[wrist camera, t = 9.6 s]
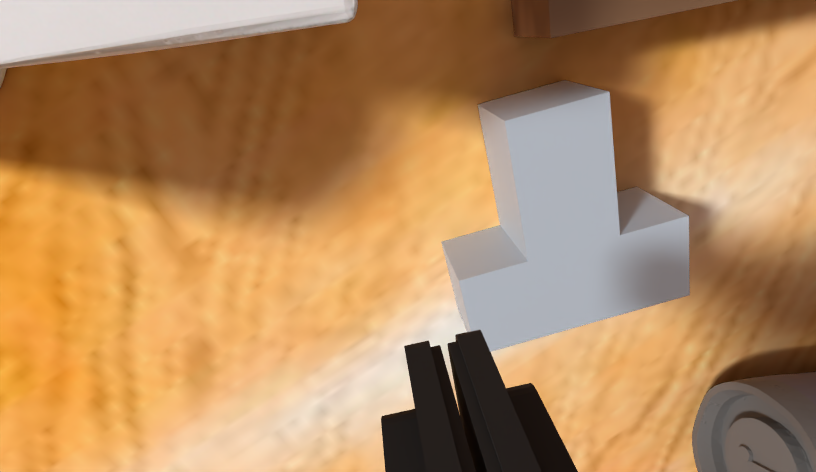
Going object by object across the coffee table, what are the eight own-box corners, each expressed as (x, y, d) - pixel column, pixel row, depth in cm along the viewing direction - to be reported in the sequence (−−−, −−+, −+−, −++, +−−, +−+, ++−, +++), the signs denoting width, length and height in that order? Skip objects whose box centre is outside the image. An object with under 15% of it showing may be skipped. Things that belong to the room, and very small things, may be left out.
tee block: (640, 256, 26) (689, 295, 22) (458, 308, 26) (476, 355, 22) (630, 61, 22) (687, 69, 18) (411, 122, 22) (425, 143, 18)
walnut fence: (881, 266, 28) (963, 302, 24) (541, 343, 27) (571, 392, 23) (970, -107, 21) (1105, -137, 17) (510, -16, 20) (546, -26, 16)
